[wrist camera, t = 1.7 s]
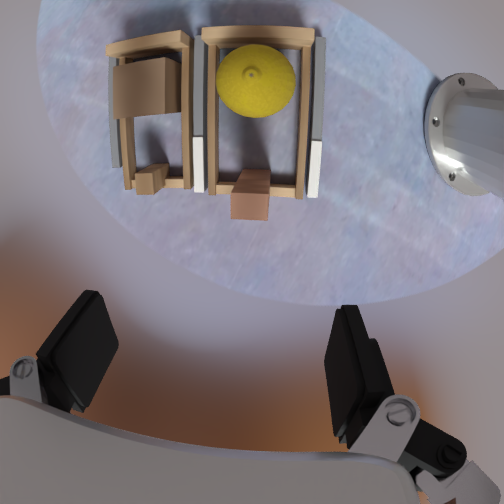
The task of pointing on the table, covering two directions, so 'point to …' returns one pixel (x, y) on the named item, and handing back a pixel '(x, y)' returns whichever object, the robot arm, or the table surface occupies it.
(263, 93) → the lemon
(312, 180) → the lane rails
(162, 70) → the walnut cube
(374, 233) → the table surface
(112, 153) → the rail right
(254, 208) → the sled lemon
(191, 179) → the cube
